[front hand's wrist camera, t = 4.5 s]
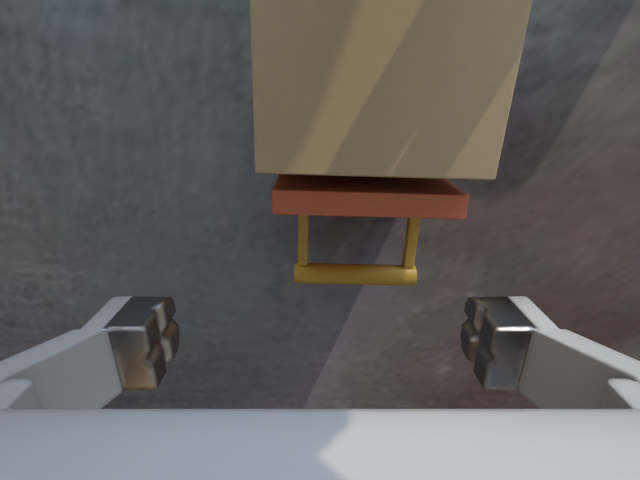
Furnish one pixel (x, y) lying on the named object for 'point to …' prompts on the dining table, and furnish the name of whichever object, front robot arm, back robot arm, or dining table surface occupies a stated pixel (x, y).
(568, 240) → the dining table surface
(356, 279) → the drawer
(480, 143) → the cabinet
